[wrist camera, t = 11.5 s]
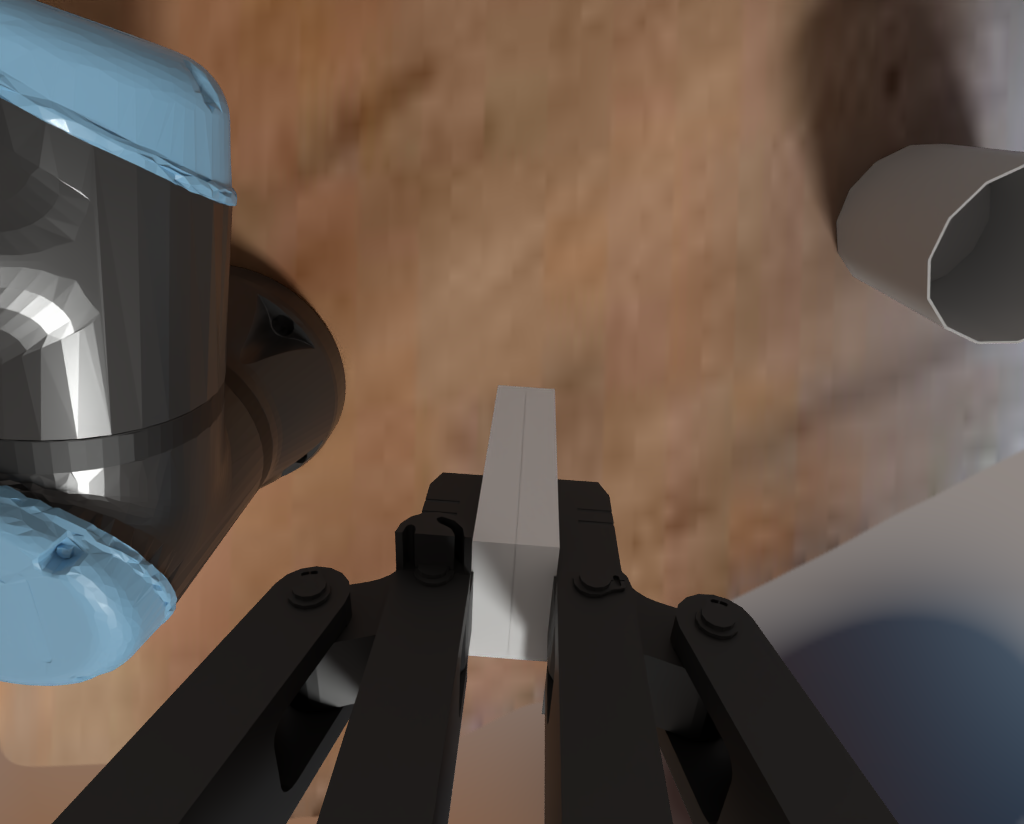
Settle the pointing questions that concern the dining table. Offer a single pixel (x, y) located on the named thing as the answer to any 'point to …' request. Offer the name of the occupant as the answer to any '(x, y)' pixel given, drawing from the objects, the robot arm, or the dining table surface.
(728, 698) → the robot arm
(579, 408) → the dining table surface
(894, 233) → the cup
